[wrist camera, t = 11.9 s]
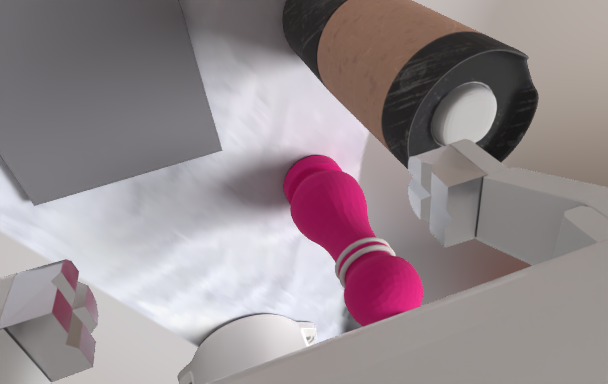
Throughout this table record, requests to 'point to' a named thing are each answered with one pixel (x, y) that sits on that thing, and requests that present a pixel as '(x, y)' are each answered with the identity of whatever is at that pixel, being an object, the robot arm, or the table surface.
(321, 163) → the pepper mill
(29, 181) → the mat
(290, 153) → the table surface
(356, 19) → the travel mug
